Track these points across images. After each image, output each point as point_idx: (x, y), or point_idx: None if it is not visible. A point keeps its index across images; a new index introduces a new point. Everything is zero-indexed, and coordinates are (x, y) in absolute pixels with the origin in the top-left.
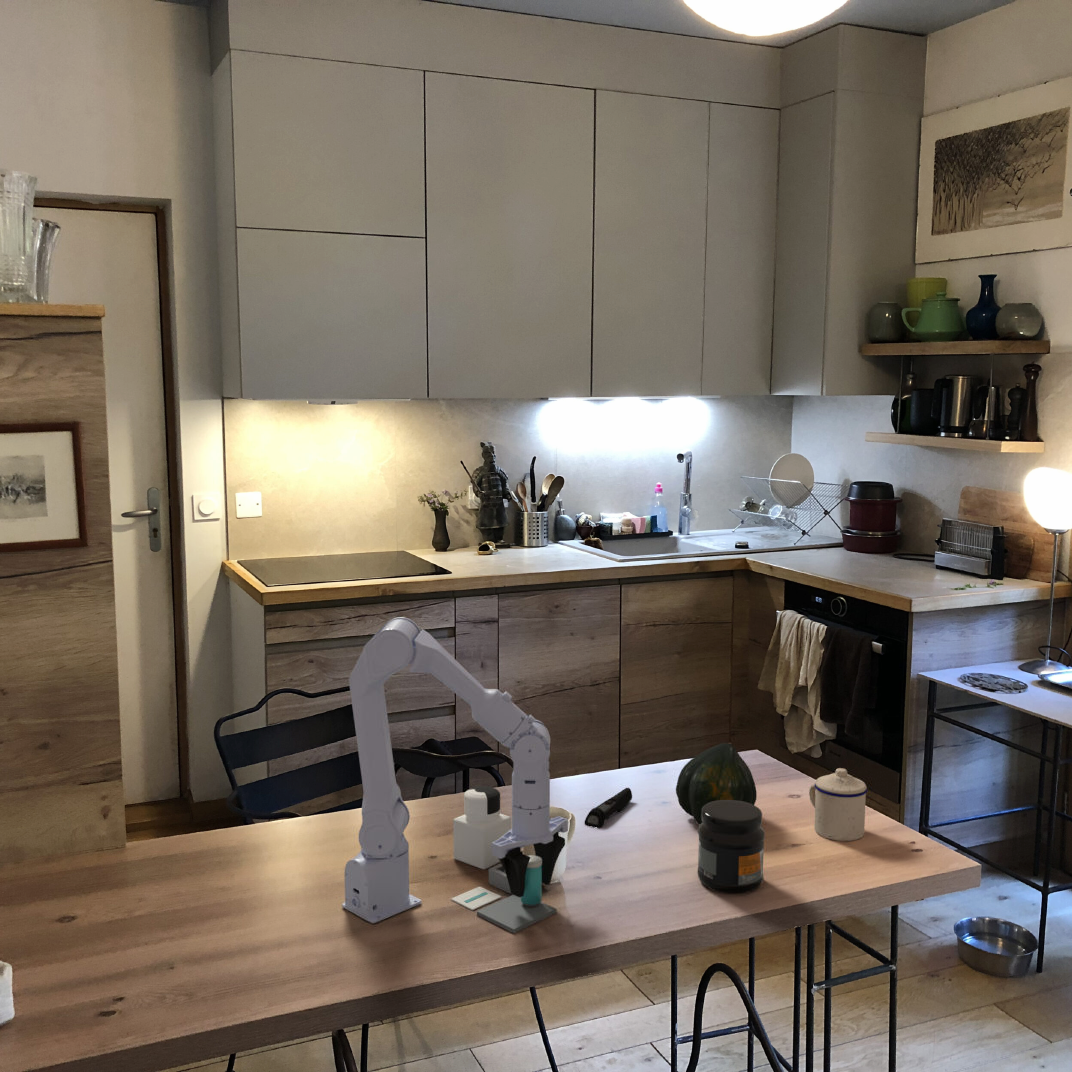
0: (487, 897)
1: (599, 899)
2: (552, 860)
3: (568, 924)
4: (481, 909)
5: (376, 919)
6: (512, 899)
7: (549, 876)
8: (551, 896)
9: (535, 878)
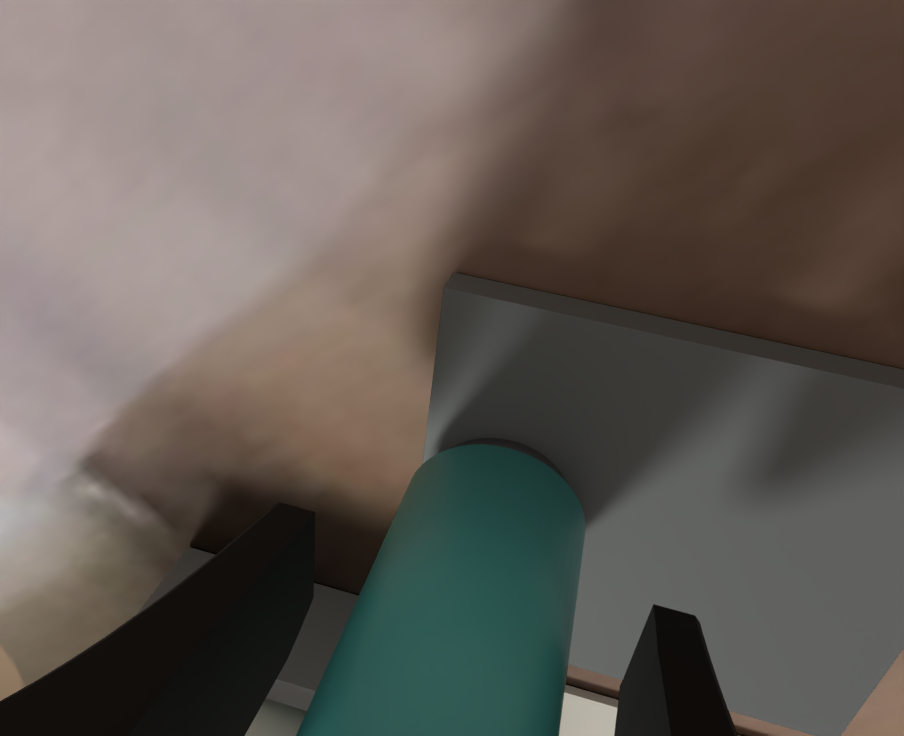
0: (573, 730)
1: (7, 79)
2: (128, 716)
3: (588, 36)
4: (793, 725)
5: None
6: None
7: (263, 563)
8: (267, 427)
9: (490, 675)
